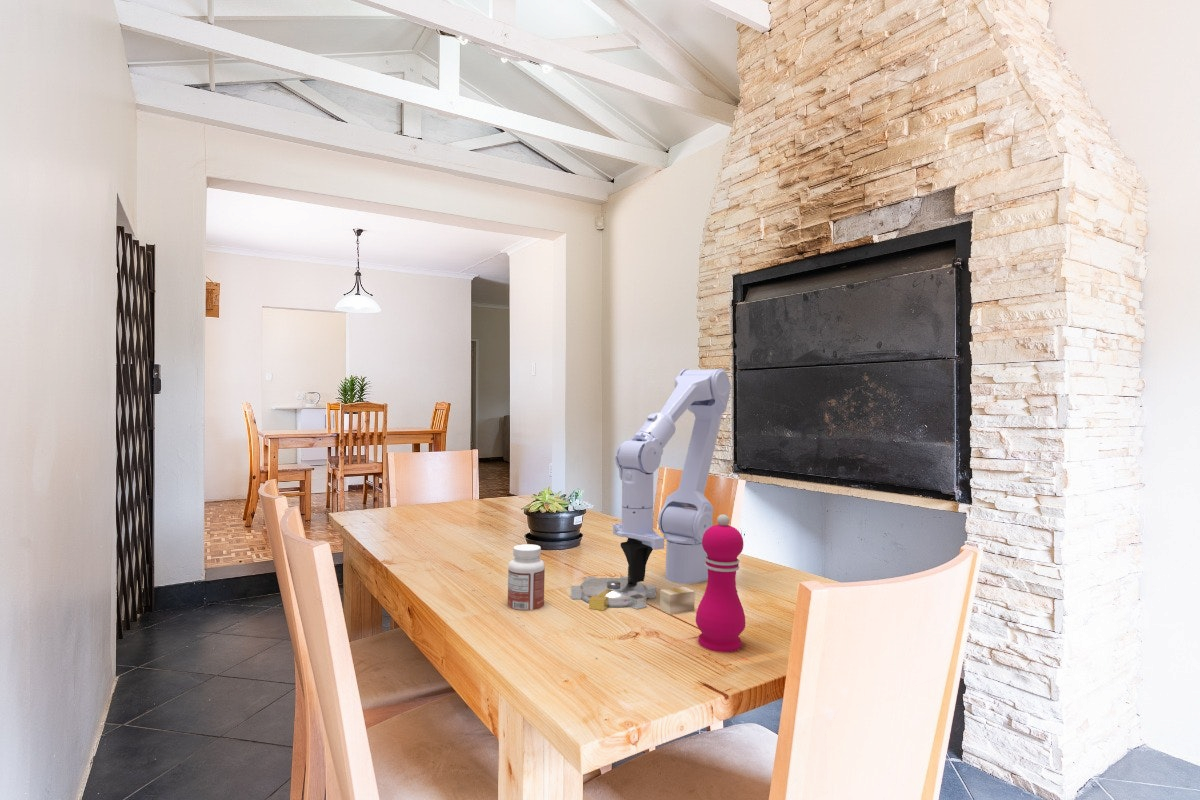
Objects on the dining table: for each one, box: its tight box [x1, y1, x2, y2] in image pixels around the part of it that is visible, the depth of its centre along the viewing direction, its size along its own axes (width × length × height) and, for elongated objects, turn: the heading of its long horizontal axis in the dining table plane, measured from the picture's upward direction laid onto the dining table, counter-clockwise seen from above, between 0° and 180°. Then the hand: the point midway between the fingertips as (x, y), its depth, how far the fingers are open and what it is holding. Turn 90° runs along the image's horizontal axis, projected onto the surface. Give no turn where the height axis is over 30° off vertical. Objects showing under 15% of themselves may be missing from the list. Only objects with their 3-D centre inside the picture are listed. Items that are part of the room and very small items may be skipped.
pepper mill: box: [695, 513, 746, 653], centre depth 93 cm, size 7×7×20 cm
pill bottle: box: [507, 543, 546, 611], centre depth 108 cm, size 6×6×11 cm
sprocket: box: [570, 565, 657, 611], centre depth 113 cm, size 16×14×5 cm
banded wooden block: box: [659, 586, 696, 615], centre depth 107 cm, size 5×3×4 cm, turn 118°
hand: (636, 581), depth 115 cm, fingers closed, pressing on sprocket
